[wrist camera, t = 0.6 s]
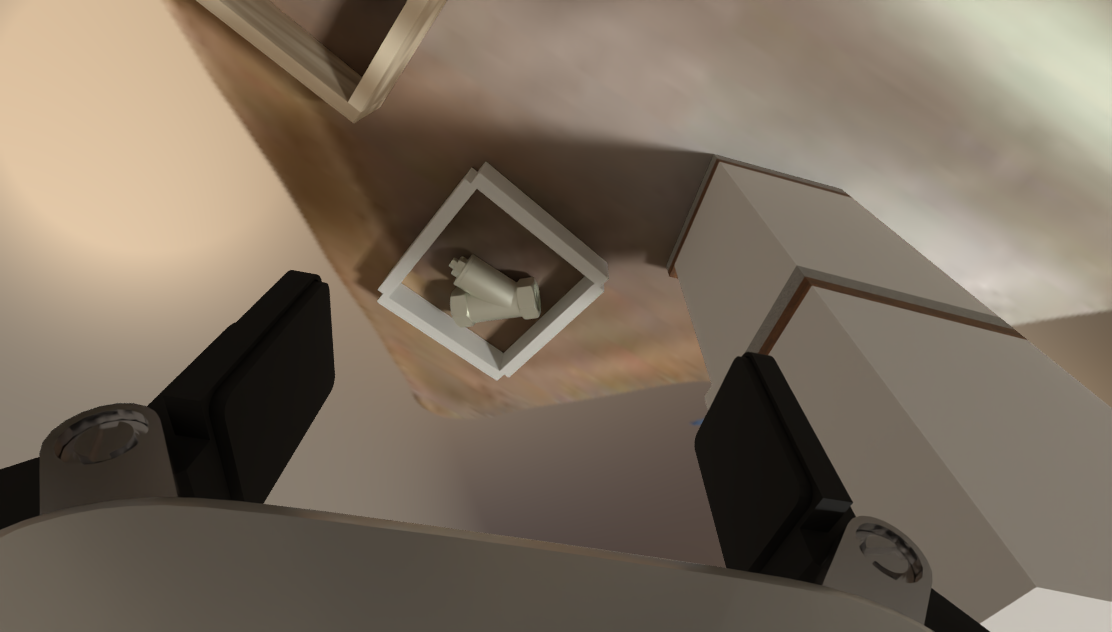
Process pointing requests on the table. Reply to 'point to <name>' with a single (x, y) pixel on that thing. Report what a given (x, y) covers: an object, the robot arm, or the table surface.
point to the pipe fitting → (490, 294)
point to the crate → (317, 67)
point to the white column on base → (911, 395)
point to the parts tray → (537, 223)
